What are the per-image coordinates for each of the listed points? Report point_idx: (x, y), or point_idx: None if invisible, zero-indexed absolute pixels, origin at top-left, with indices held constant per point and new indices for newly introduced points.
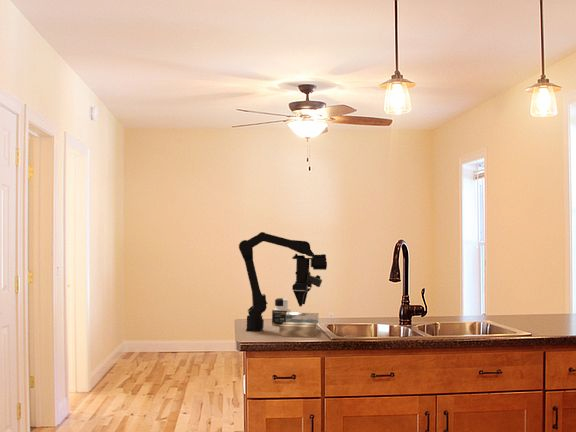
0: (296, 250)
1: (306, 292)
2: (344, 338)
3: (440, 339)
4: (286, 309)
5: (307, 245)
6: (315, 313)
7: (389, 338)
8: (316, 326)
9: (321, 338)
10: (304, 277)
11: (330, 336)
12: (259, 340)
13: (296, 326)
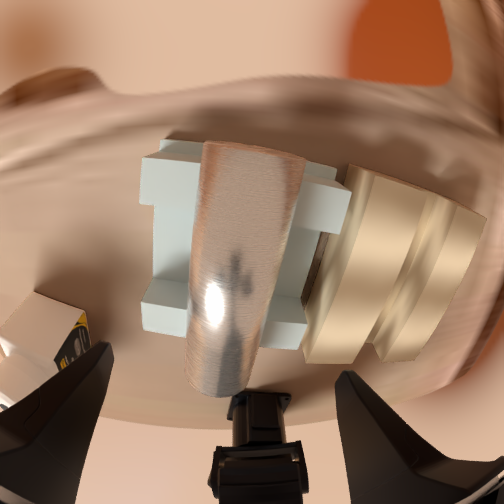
0: None
1: (36, 449)
2: (486, 75)
3: None
4: (39, 363)
5: None
6: (267, 186)
7: None
8: (167, 152)
9: (487, 172)
10: None
11: (452, 113)
12: (453, 359)
13: (452, 297)
